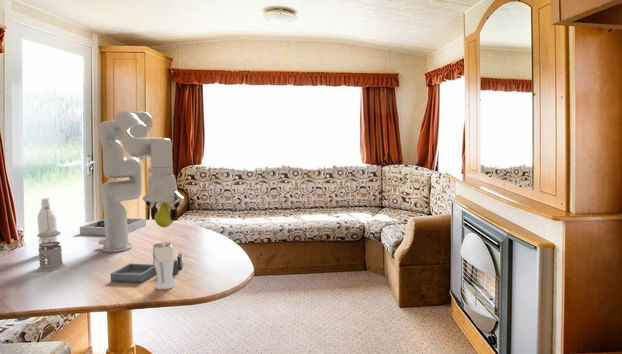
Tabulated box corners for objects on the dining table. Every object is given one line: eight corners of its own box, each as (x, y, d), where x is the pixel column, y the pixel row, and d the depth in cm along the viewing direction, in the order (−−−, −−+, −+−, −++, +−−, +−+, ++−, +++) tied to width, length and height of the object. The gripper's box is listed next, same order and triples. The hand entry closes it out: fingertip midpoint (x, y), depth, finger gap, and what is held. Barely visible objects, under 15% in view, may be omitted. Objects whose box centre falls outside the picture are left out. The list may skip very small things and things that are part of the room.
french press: (44, 273, 162) (39, 209, 159) (29, 268, 168) (24, 206, 165) (70, 266, 170) (66, 205, 167) (55, 261, 176) (50, 202, 173)
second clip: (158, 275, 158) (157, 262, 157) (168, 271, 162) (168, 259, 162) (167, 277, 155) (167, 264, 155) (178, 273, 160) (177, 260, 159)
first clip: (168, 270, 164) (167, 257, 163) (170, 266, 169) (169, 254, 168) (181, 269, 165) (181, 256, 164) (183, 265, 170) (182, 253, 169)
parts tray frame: (80, 234, 223) (79, 226, 223) (108, 224, 247) (108, 217, 246) (121, 235, 219) (121, 228, 219) (146, 225, 243) (145, 218, 242)
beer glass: (167, 281, 151) (165, 241, 149) (179, 285, 147) (177, 244, 146) (150, 287, 145) (147, 245, 144) (162, 292, 141) (160, 248, 140)
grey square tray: (111, 281, 152) (110, 273, 151) (130, 270, 163) (129, 263, 163) (141, 283, 150) (141, 275, 149) (158, 272, 162) (158, 264, 161)
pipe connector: (118, 217, 240) (122, 222, 228) (119, 226, 241) (123, 232, 228) (96, 220, 234) (98, 225, 222) (97, 229, 235) (99, 235, 222)
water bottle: (62, 253, 188) (58, 198, 186) (46, 257, 182) (42, 200, 179) (52, 251, 191) (48, 197, 189) (36, 255, 185) (31, 199, 182)
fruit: (168, 229, 153) (167, 197, 152) (151, 228, 154) (149, 196, 153) (177, 225, 160) (176, 194, 158) (160, 224, 161) (159, 193, 159)
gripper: (134, 172, 152) (137, 220, 154) (179, 172, 150) (181, 221, 152) (145, 170, 160) (147, 216, 162) (188, 170, 157) (190, 217, 159)
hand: (164, 218), depth 157 cm, fingers closed on fruit, 6 cm apart
